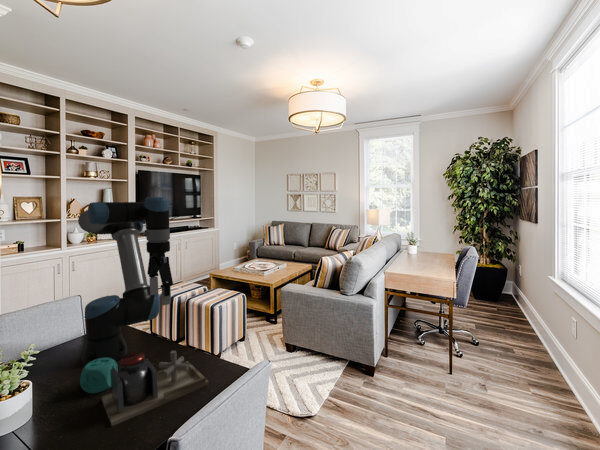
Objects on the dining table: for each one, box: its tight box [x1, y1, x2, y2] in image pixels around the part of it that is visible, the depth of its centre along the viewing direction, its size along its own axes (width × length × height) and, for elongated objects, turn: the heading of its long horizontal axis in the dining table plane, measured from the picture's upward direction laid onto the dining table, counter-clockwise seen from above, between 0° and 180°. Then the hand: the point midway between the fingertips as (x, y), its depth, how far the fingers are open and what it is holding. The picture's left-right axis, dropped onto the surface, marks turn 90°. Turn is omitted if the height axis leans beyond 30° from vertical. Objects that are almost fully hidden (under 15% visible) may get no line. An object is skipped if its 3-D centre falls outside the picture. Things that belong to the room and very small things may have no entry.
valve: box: [110, 351, 158, 414], centre depth 93 cm, size 10×10×14 cm
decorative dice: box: [79, 358, 119, 394], centre depth 101 cm, size 8×8×8 cm
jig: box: [101, 360, 210, 427], centre depth 97 cm, size 15×28×3 cm, turn 132°
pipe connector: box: [158, 350, 189, 382], centre depth 101 cm, size 10×10×10 cm
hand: (160, 299), depth 109 cm, fingers open, 13 cm apart
